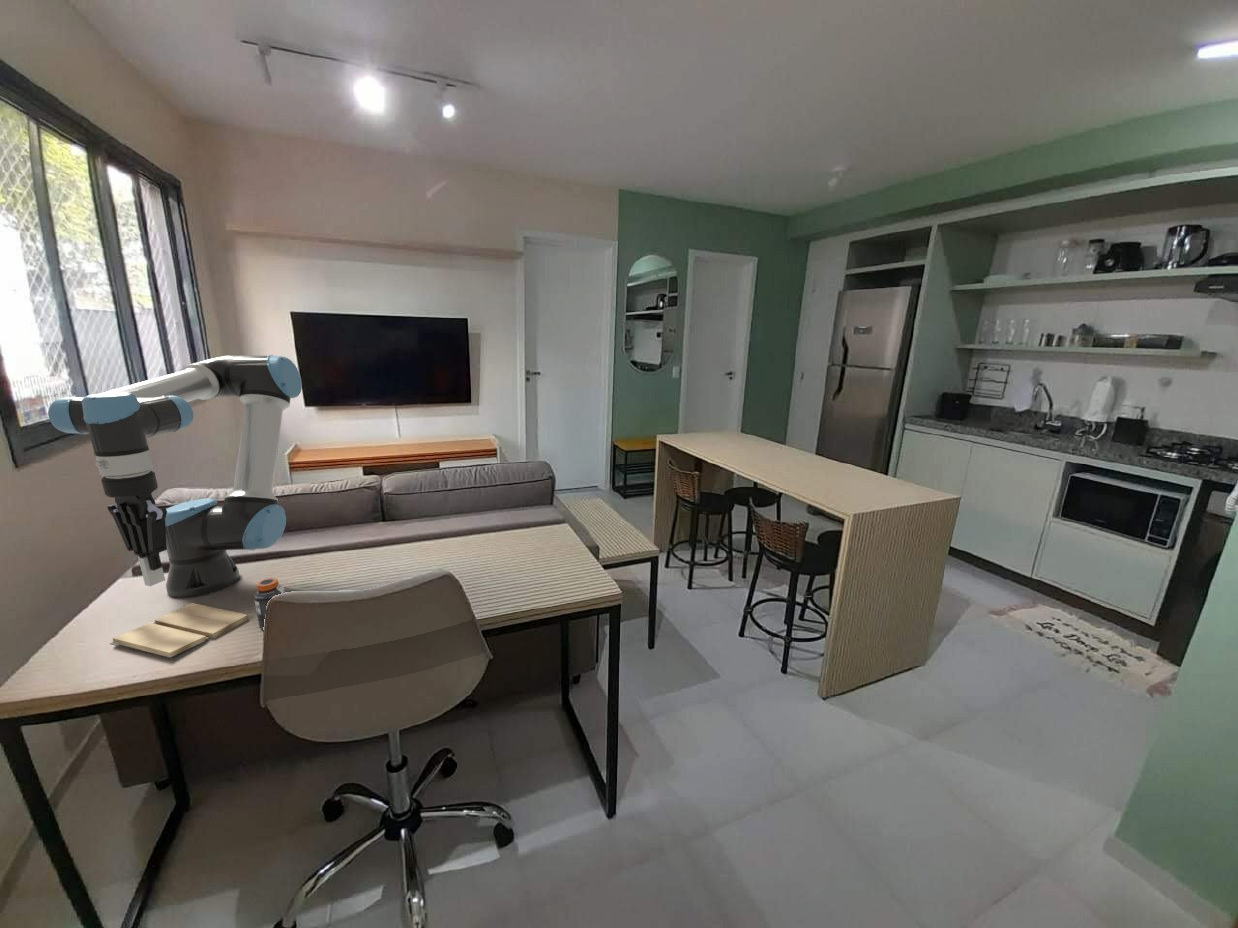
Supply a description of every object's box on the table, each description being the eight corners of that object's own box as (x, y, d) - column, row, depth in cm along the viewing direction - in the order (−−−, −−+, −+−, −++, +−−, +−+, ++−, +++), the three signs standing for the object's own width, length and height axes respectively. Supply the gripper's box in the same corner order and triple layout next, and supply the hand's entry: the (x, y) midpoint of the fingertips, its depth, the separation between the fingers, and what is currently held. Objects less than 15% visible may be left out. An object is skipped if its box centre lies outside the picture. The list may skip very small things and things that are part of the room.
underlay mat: (193, 605, 123) (193, 604, 123) (253, 618, 118) (253, 617, 118) (109, 644, 107) (109, 643, 107) (175, 661, 102) (174, 660, 102)
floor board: (192, 607, 122) (191, 602, 121) (248, 619, 117) (247, 614, 117) (155, 624, 114) (154, 620, 114) (213, 638, 110) (212, 633, 109)
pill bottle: (295, 617, 119) (288, 575, 116) (280, 631, 113) (272, 587, 110) (270, 617, 118) (262, 575, 116) (253, 632, 113) (244, 587, 110)
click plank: (154, 625, 113) (153, 621, 113) (209, 639, 109) (208, 634, 109) (113, 642, 106) (112, 638, 106) (170, 657, 102) (169, 652, 102)
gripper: (80, 475, 94) (111, 586, 100) (128, 482, 90) (157, 596, 96) (127, 465, 101) (153, 570, 107) (173, 471, 97) (198, 578, 103)
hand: (155, 582), depth 102 cm, fingers closed
